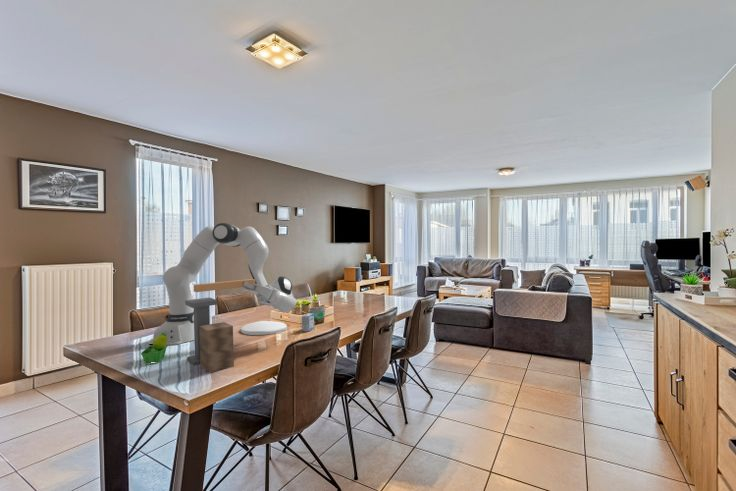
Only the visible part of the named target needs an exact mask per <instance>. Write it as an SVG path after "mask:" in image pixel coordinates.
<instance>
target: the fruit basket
mask: <svg viewBox="0 0 736 491" xmlns="http://www.w3.org/2000/svg"><path fill="white" fill-rule="evenodd" d="M167 348H168V345H167V336H166V334H161V335H160V336H159V337H157V338H156V339H155V340H154V341H153V345H148V346H147V347H146V348H145V349H144V350H142V352H140V355H141V356H142V359H143V362H144V364H145V363H151V362H159V361H160V360H161V361H162V360H163V358H164V357H165V354H166V351H167ZM159 363H160V362H159Z"/></svg>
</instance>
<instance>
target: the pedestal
mask: <svg viewBox="0 0 736 491" xmlns="http://www.w3.org/2000/svg"><path fill="white" fill-rule="evenodd" d="M199 332H200V365H199V366H200V367H201V368H202V369H204V370H205V371H206V372H207V373H208V374H210V373H212V372H217V371H221V370H224V369H229V368H232V367H235V355H234V353H235V352H234V326H233V325H231V324H229V323H227V322H225V321H223V322H222V321H221V322H217V323H210V324H209V325H203V326H199Z"/></svg>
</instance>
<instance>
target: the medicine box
mask: <svg viewBox="0 0 736 491" xmlns="http://www.w3.org/2000/svg"><path fill="white" fill-rule="evenodd" d="M301 329H302V332H305V333H306V332H311V331H312V330H314V329H315V324H314V314H313V313H310V312H309V313H306V314H304V315H301Z"/></svg>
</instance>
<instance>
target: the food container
mask: <svg viewBox="0 0 736 491" xmlns="http://www.w3.org/2000/svg"><path fill="white" fill-rule="evenodd" d="M308 310H309V311H308V312H309V313H313V314H314V325H321V324H324V323H325V315H326V314H325V312H326V310H327V309H326V306H325V305H324V304H321V305H320V306H316V307H309V309H308Z"/></svg>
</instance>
